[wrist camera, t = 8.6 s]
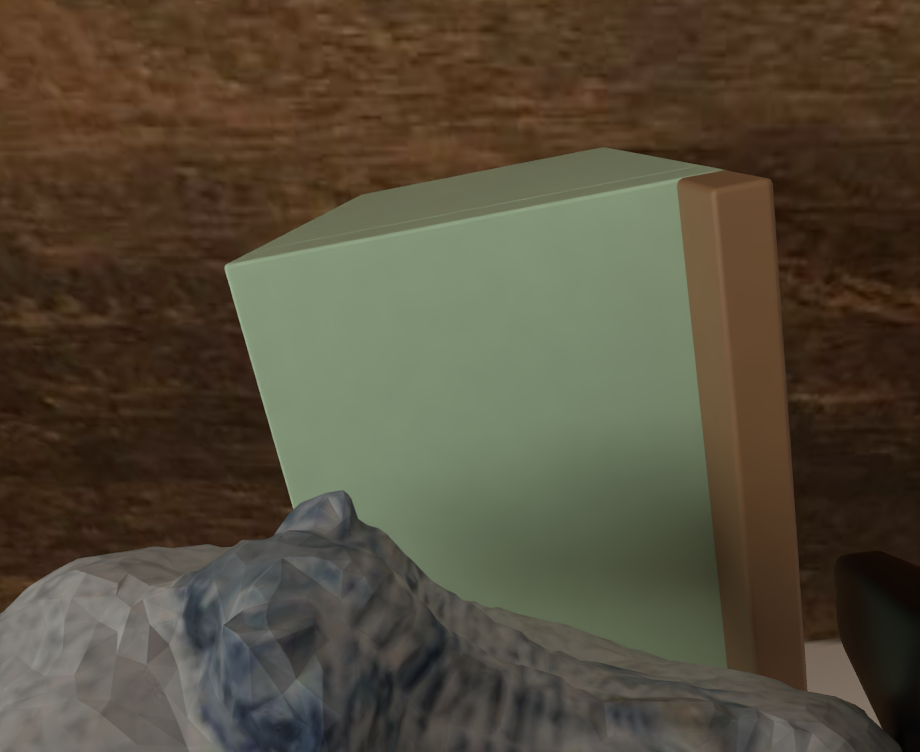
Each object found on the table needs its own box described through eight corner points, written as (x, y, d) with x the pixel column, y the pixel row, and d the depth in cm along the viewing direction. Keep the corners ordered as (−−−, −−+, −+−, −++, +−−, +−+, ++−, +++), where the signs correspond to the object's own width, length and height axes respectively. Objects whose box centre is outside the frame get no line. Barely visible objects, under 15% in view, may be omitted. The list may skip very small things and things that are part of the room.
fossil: (847, 531, 9) (1264, 1004, 4) (749, 764, 10) (986, 1352, 5) (131, 378, 9) (-315, 692, 4) (111, 633, 10) (-259, 1125, 5)
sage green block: (430, 507, 21) (364, 909, 10) (359, 194, 19) (172, 290, 8) (648, 473, 21) (821, 862, 10) (605, 146, 18) (774, 177, 7)
